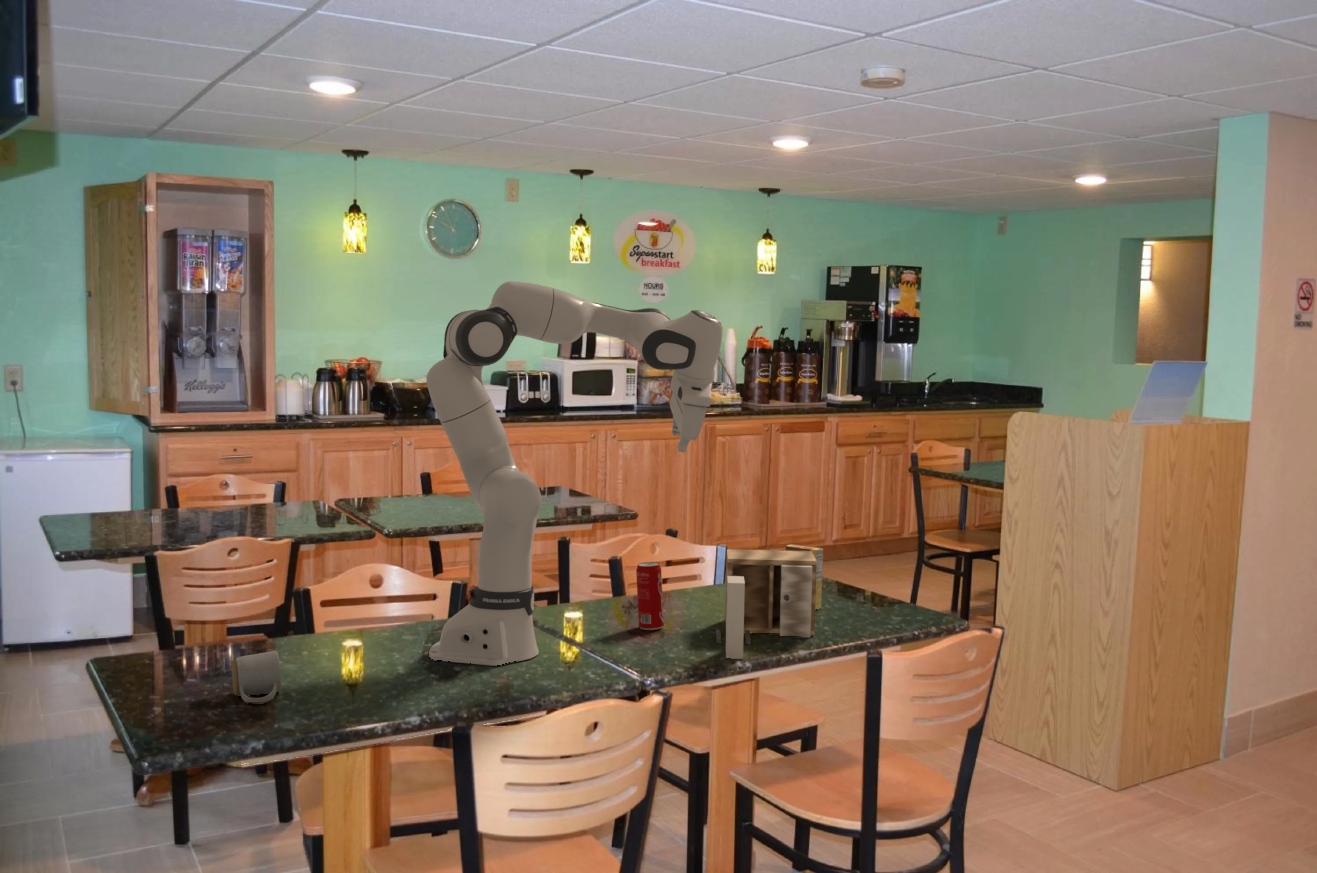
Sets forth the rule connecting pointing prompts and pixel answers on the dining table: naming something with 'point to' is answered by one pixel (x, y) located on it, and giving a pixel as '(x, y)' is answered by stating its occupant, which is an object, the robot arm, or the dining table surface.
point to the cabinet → (775, 591)
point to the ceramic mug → (256, 676)
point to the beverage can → (649, 596)
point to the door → (735, 617)
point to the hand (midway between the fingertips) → (678, 442)
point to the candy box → (819, 558)
